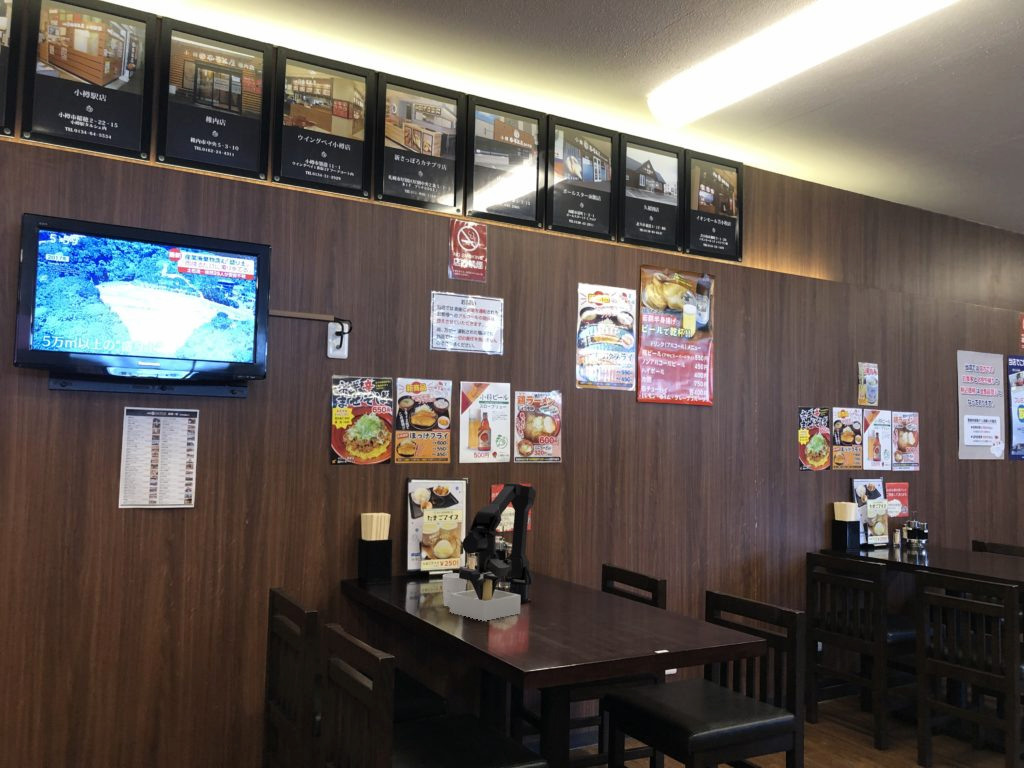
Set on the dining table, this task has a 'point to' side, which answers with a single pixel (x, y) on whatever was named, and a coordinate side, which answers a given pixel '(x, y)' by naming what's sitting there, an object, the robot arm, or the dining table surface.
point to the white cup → (452, 586)
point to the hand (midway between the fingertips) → (485, 599)
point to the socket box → (485, 605)
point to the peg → (487, 590)
